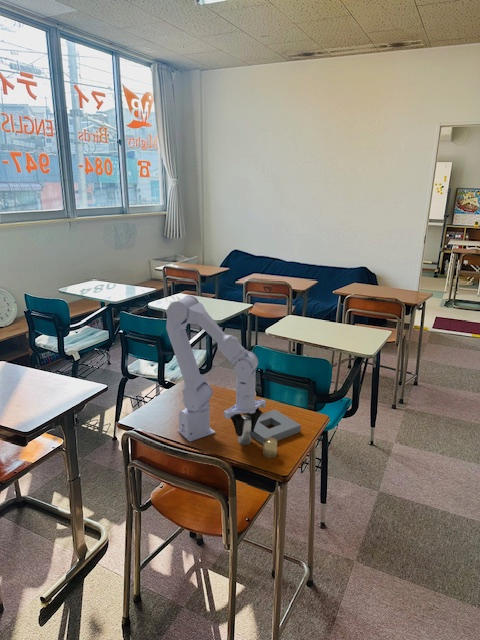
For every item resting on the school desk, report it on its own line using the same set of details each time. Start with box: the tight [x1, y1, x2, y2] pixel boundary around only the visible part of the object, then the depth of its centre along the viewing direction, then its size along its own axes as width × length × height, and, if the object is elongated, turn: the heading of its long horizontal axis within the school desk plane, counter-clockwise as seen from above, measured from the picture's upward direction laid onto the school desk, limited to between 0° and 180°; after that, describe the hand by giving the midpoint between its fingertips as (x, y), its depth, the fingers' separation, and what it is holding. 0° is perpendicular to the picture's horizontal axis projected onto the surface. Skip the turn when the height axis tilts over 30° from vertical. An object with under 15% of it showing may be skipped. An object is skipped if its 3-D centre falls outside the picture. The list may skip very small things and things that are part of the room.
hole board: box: [251, 409, 302, 446], centre depth 144 cm, size 15×13×2 cm
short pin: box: [262, 437, 278, 459], centre depth 130 cm, size 4×4×4 cm
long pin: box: [237, 414, 252, 446], centre depth 136 cm, size 4×4×8 cm
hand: (244, 432), depth 136 cm, fingers closed on long pin, 4 cm apart
